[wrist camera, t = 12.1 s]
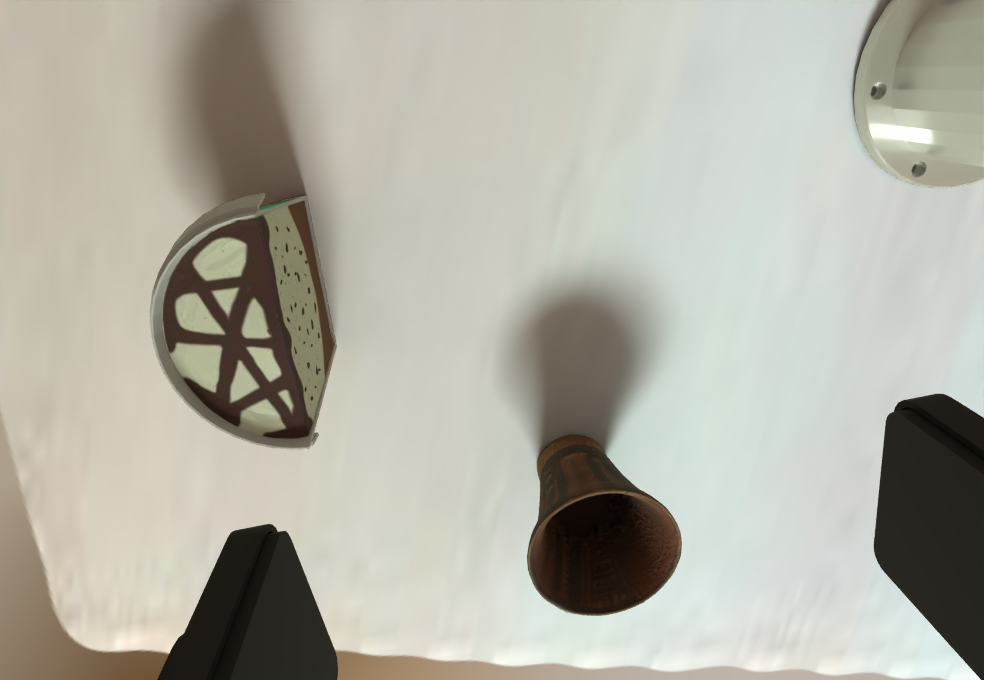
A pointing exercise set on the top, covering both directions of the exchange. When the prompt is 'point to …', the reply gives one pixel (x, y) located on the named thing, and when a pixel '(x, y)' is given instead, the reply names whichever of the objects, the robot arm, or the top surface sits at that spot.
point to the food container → (247, 321)
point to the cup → (597, 533)
